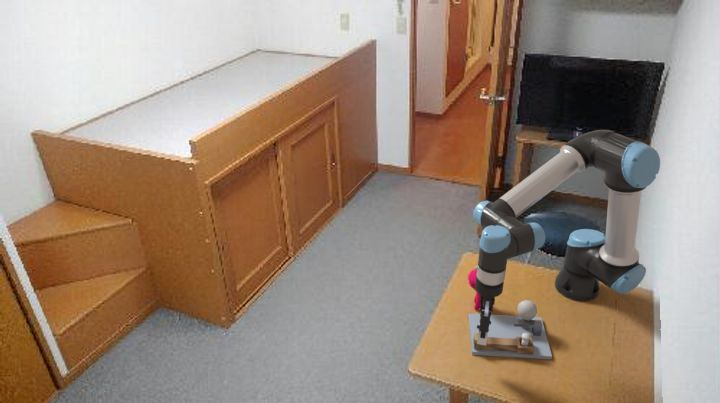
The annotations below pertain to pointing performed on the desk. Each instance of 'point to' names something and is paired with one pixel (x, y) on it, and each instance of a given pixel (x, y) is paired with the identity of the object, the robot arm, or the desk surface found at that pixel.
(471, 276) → the toy
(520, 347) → the link
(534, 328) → the keeper
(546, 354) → the board
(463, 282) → the desk surface
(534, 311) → the lightbulb
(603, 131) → the robot arm
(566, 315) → the desk surface
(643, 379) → the desk surface
